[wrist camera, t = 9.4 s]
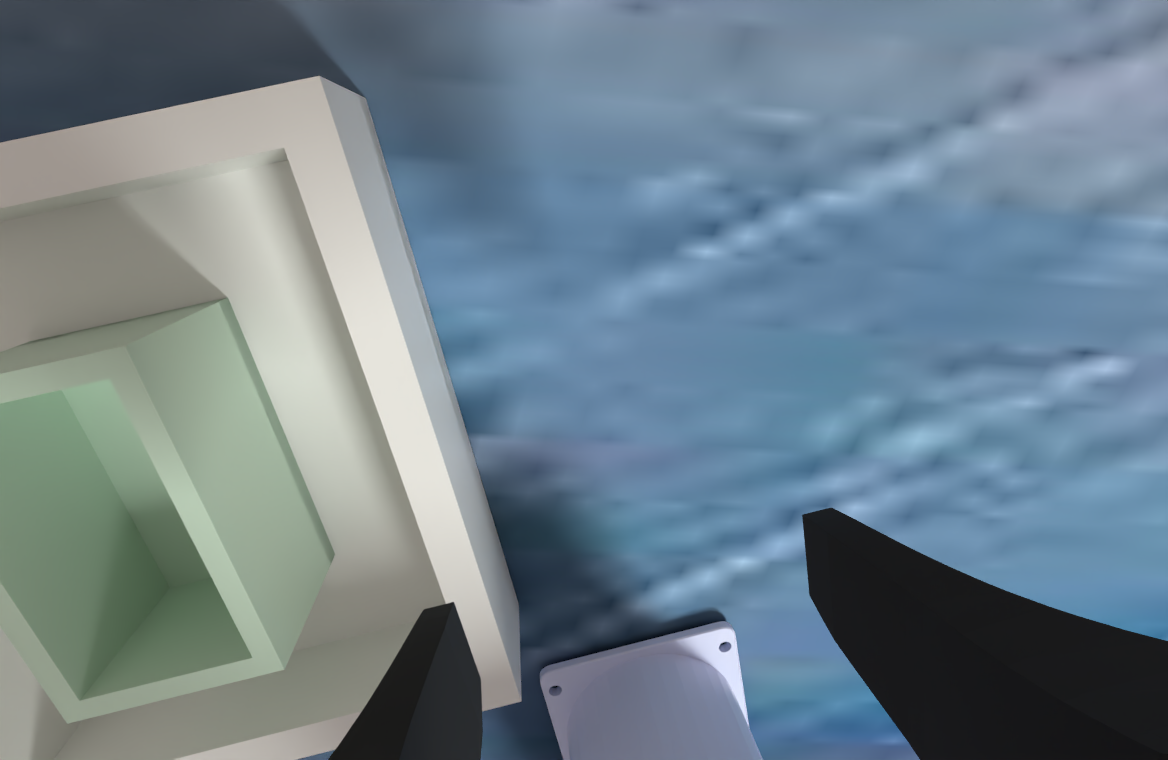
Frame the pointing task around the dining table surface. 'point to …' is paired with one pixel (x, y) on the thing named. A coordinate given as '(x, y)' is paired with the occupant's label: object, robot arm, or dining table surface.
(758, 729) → the dining table surface
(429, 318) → the white crate
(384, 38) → the dining table surface
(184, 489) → the green crate
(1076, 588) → the dining table surface
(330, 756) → the robot arm
